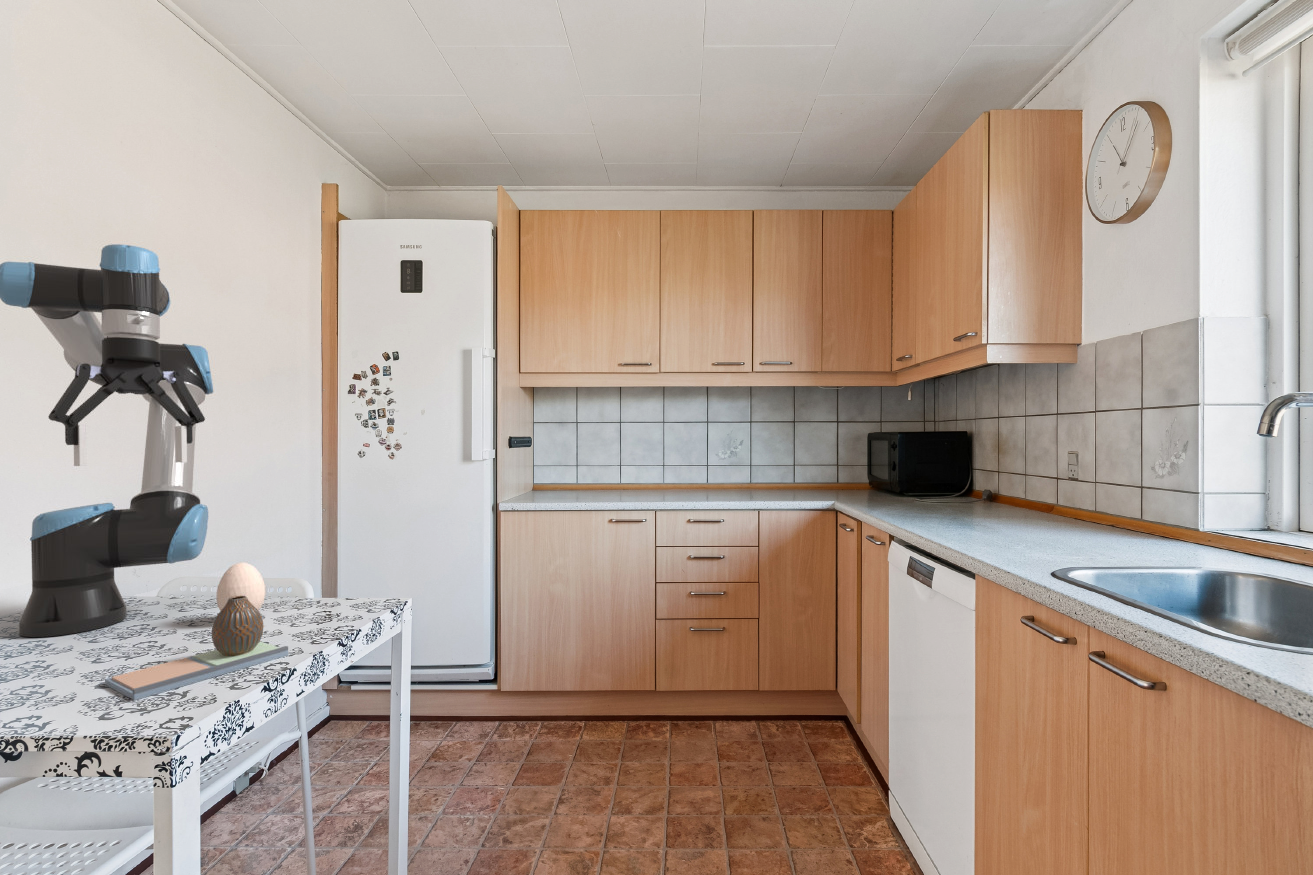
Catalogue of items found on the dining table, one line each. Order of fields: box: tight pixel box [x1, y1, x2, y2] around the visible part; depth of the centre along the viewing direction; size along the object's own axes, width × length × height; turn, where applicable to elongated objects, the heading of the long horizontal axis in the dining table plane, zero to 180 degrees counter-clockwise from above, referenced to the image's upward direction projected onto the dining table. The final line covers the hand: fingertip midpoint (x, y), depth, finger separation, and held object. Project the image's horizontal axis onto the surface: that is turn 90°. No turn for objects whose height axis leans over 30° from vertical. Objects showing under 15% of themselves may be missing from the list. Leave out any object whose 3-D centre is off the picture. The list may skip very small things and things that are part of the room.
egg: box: [215, 562, 266, 612], centre depth 120 cm, size 8×8×11 cm
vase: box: [211, 596, 264, 656], centre depth 99 cm, size 7×7×9 cm
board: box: [104, 640, 289, 701], centre depth 94 cm, size 11×20×1 cm, turn 148°
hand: (133, 464), depth 103 cm, fingers open, 13 cm apart
